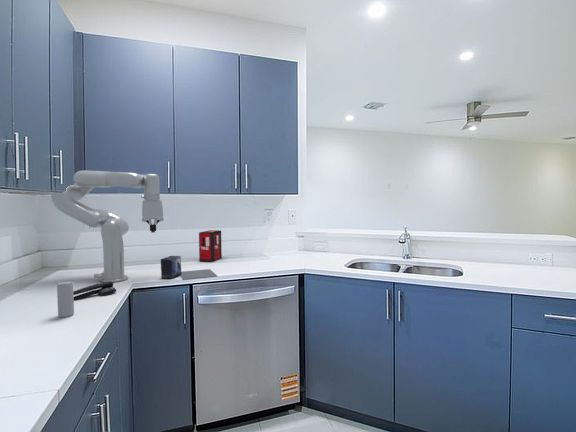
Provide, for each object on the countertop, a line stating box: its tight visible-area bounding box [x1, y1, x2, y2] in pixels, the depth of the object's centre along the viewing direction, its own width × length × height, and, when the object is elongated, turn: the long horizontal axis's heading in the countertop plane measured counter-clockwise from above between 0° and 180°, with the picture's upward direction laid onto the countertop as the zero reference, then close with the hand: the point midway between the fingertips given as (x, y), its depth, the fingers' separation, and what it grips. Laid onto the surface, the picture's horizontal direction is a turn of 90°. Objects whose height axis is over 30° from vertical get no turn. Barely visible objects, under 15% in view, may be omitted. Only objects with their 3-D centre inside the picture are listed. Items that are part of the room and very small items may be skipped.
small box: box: [160, 255, 182, 280], centre depth 183 cm, size 11×6×10 cm, turn 168°
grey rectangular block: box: [56, 280, 75, 318], centre depth 121 cm, size 5×5×12 cm
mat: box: [179, 268, 218, 281], centre depth 189 cm, size 18×20×1 cm
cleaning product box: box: [198, 229, 223, 264], centre depth 234 cm, size 16×9×20 cm, turn 168°
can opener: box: [73, 281, 117, 301], centre depth 147 cm, size 18×7×6 cm, turn 137°
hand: (153, 232), depth 178 cm, fingers closed
